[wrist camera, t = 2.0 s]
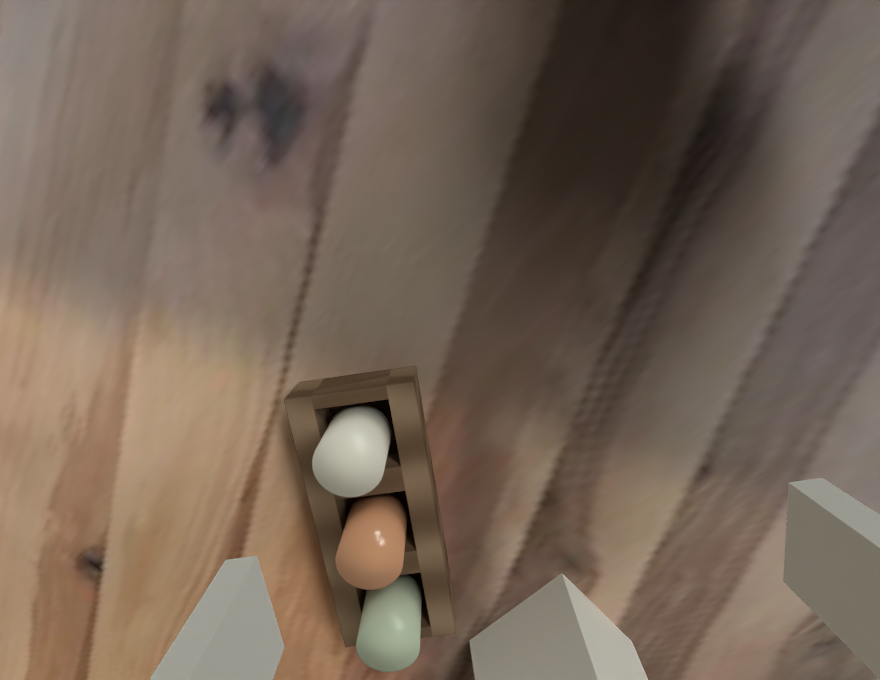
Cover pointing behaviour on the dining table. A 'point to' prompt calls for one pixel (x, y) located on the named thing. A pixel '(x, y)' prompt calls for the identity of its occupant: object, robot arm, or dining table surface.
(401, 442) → the wooden compartment tray
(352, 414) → the off-white button
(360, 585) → the peach rounded cylinder
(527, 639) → the milk
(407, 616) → the pale green domed cylinder
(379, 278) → the dining table surface
